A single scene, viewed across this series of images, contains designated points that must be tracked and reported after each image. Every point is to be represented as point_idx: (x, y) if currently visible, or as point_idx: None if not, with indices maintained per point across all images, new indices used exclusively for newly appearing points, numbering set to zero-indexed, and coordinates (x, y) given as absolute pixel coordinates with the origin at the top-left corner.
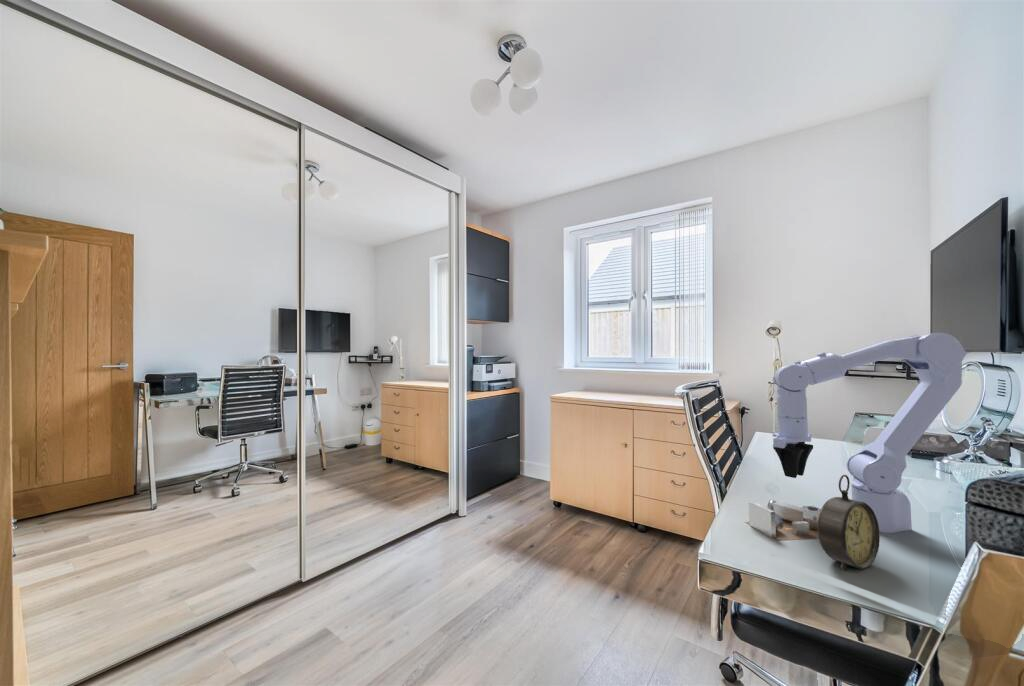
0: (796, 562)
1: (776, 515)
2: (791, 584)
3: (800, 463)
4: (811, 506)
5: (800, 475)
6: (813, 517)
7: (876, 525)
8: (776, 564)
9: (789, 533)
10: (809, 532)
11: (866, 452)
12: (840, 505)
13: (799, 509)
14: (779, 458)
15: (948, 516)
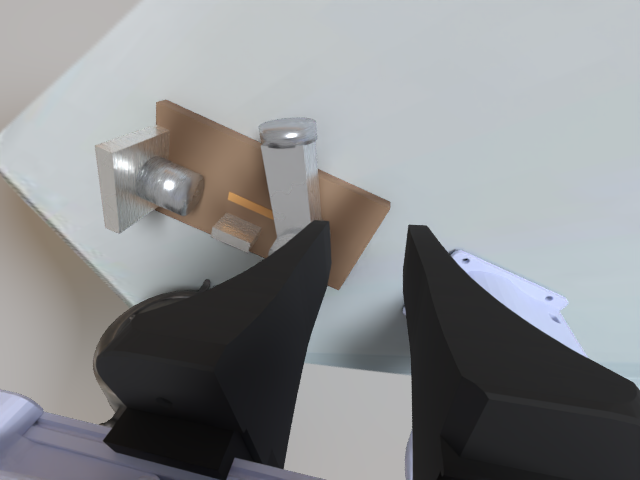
0: (145, 246)
1: (170, 208)
2: (88, 261)
3: (412, 321)
4: None
5: (404, 263)
6: None
7: None
8: (105, 230)
9: (215, 210)
10: (267, 234)
11: None
12: (105, 395)
13: (286, 226)
14: (245, 271)
15: None
